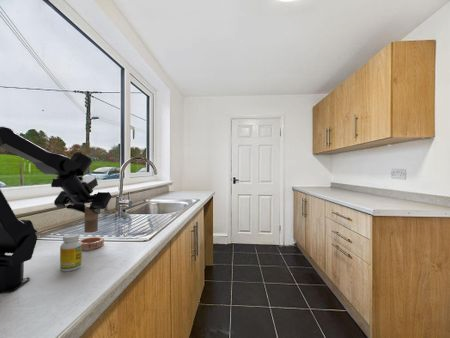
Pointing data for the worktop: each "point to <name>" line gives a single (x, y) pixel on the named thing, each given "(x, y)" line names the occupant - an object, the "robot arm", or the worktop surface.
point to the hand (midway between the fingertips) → (93, 213)
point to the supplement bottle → (70, 253)
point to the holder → (92, 243)
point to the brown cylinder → (90, 220)
